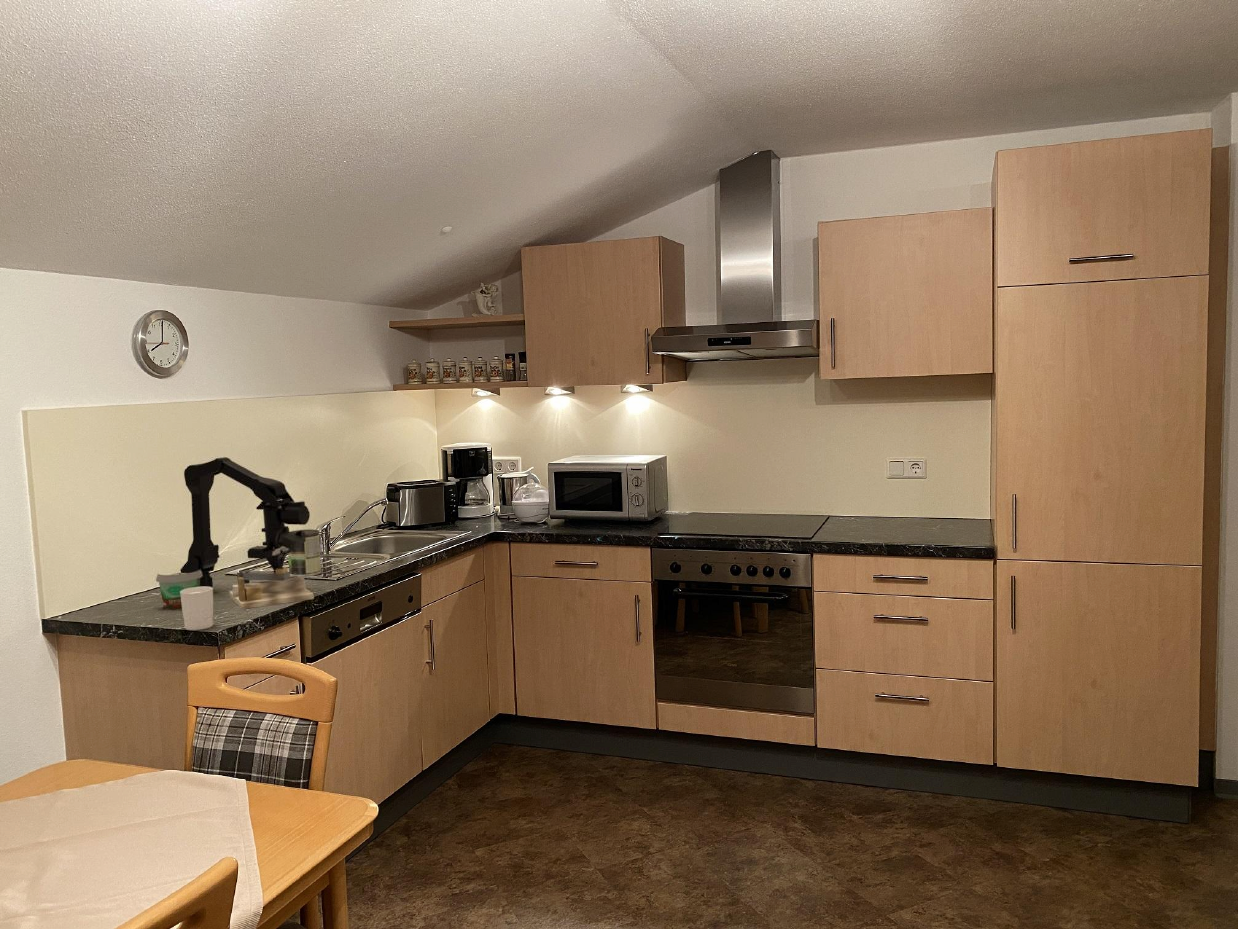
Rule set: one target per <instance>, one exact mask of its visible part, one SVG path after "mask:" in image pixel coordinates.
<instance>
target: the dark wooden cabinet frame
mask: <svg viewBox="0 0 1238 929" xmlns="http://www.w3.org/2000/svg"><path fill="white" fill-rule="evenodd" d="M275 570H276V572H275V571H270V570H268V571H267V570H265V571H263V570H262V571H261V570H260V571H259V570H241V571H239V572H237V573H236V576H237V579H236V580H237V581H238V578H239V577H242V578H244V580H249V581H269V580H277V581H285V580H287V579H290V578H291V576H290V572H289V571H288V567H285V566H283V567H279V568H277V569H275Z"/></svg>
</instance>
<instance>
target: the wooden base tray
mask: <svg viewBox="0 0 1238 929" xmlns="http://www.w3.org/2000/svg"><path fill="white" fill-rule="evenodd" d="M231 587H232V590H229V592H228V593H229V594H228V595H229V597H230V599H231V600H233V602H234V603H235V604H237V606H238V607H239V608H240V609H241V610H245V609H252V608H259V607H260V608H261V607H265V606H266V607H267V606H273V605H275V606H276V605H281V604H287V603H294V602H295V601H296V602H302V601H301V600H303V601H308V600H314V599H315V596H314V595H315V594H314V593H313V592H312V591H310V590H309V589H307V587H306V583H305V577H302V576H300V577H293V576H291V577H290V579H287V580H285V581H277V580H261V581H256V582H255V581H254V582H250V580H244V578H242V577H239V578H238V580H237V584H232V586H231Z"/></svg>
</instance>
